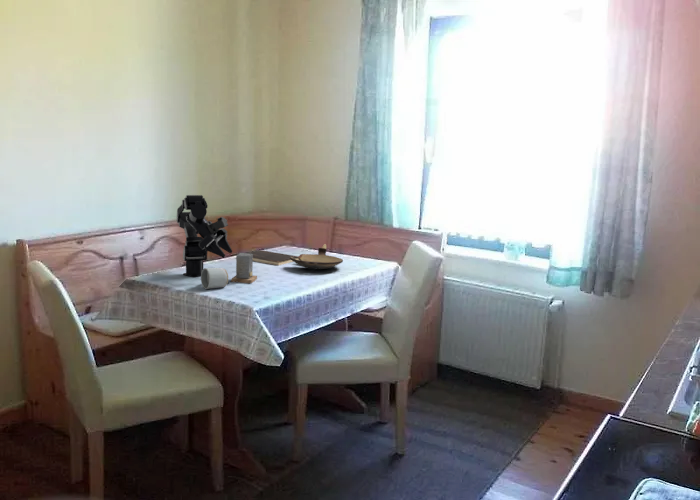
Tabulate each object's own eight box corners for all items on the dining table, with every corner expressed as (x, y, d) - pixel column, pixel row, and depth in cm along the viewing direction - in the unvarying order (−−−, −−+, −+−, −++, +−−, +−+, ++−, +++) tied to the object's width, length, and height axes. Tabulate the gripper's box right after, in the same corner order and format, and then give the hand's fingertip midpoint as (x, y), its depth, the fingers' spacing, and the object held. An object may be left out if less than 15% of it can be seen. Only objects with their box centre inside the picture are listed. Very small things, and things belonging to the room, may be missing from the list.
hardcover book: (278, 266, 291) (278, 261, 290) (237, 259, 302) (237, 254, 302) (299, 261, 304) (300, 256, 304) (260, 254, 316) (260, 249, 315)
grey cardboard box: (235, 278, 259) (235, 255, 257) (239, 275, 264) (239, 252, 262) (249, 279, 258) (249, 256, 256) (253, 276, 263) (253, 253, 261)
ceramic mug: (229, 288, 247) (229, 268, 246) (209, 291, 242) (209, 270, 241) (216, 283, 256) (216, 263, 254) (196, 285, 251) (196, 265, 249)
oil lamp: (278, 269, 283) (279, 251, 281) (316, 258, 309) (316, 242, 307) (323, 277, 272) (324, 258, 271) (359, 265, 298) (359, 248, 297)
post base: (231, 281, 258) (231, 271, 257) (237, 277, 265) (237, 266, 265) (251, 283, 257) (251, 272, 256) (256, 278, 264) (257, 268, 264)
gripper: (207, 213, 249) (235, 244, 249) (222, 208, 267) (249, 237, 268) (186, 233, 251) (215, 264, 252) (203, 226, 269) (229, 255, 270)
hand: (228, 254), depth 260 cm, fingers open, 9 cm apart
